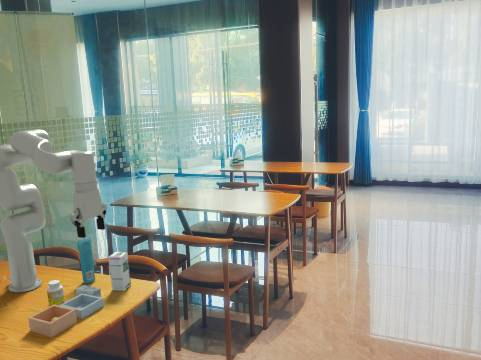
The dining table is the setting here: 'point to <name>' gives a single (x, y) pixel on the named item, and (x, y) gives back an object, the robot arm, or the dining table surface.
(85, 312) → the light blue open box
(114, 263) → the syrup box
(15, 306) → the dining table surface
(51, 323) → the salmon pink open box
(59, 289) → the supplement bottle
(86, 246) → the tube
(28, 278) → the robot arm
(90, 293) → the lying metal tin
